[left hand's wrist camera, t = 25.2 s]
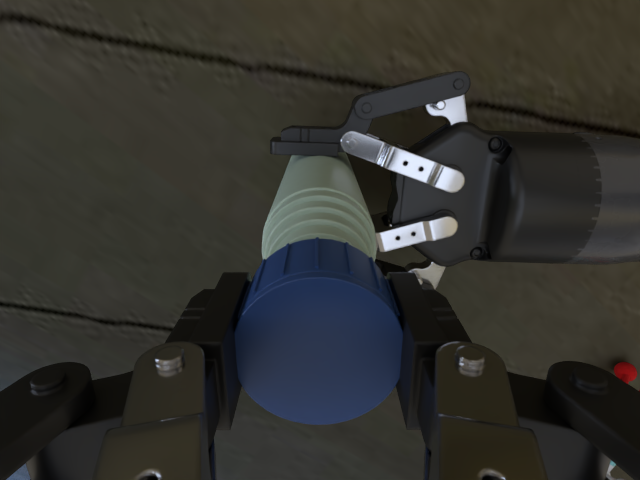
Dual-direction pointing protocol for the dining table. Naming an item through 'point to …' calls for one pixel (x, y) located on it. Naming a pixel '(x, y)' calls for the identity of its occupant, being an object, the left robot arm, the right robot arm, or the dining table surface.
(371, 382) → the cap
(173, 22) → the dining table surface
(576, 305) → the dining table surface
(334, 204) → the bottle
